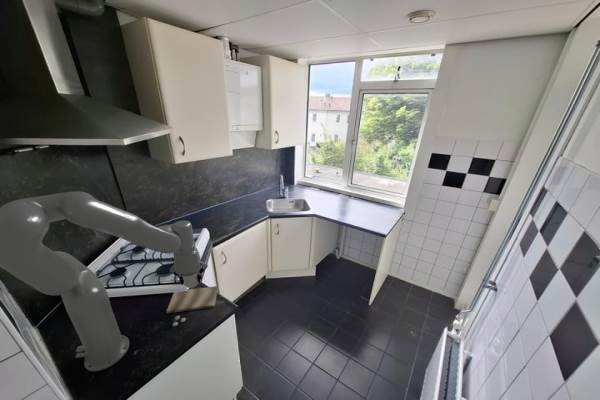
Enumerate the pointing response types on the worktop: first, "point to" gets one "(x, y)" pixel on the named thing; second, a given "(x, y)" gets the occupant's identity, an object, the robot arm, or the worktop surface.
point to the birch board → (193, 299)
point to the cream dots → (177, 319)
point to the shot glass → (190, 279)
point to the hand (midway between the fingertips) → (191, 281)
